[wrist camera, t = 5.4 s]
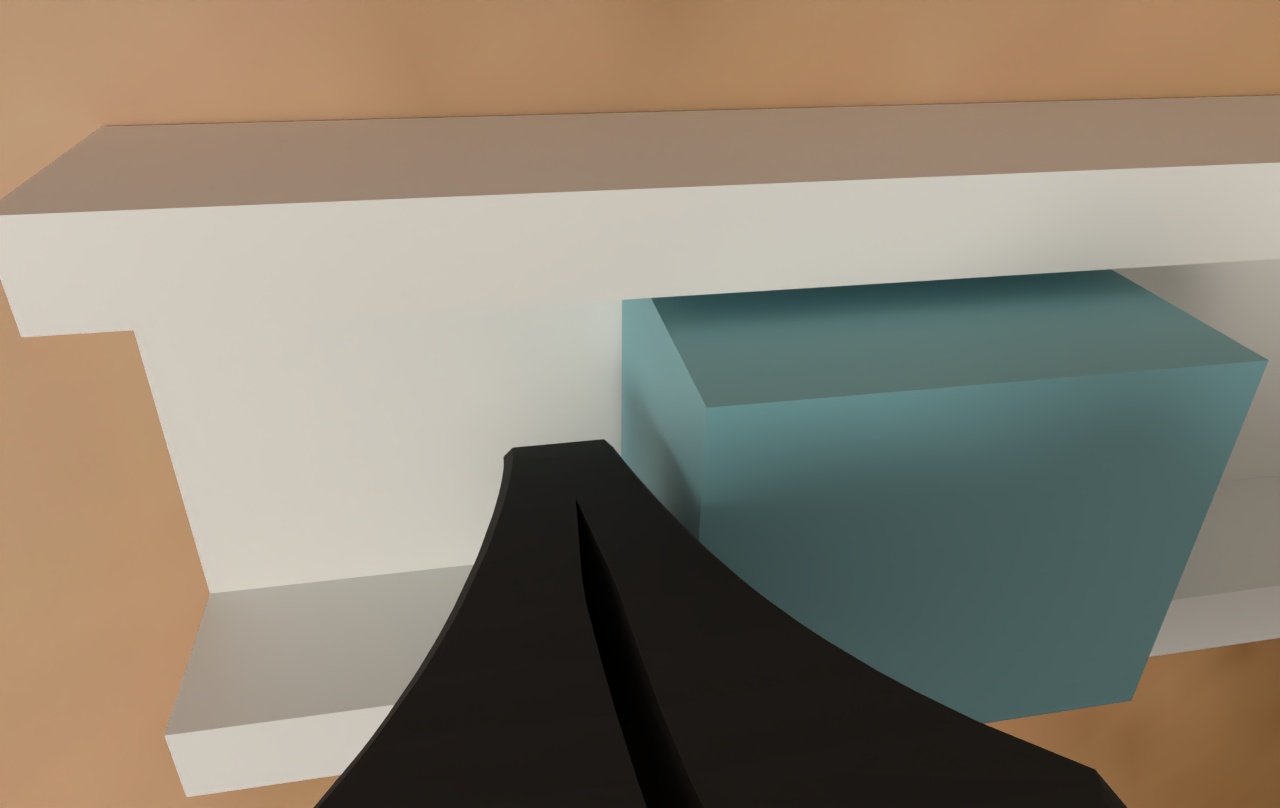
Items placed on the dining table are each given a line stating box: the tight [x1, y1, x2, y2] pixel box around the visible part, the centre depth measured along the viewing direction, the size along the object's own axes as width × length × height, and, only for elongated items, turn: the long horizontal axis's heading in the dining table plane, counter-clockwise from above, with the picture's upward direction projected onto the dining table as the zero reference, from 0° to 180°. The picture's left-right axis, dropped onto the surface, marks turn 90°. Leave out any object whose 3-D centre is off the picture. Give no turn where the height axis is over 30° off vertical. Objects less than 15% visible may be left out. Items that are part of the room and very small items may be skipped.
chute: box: [0, 95, 1280, 797], centre depth 13 cm, size 20×8×4 cm, turn 89°
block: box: [621, 269, 1269, 724], centre depth 12 cm, size 6×5×4 cm
